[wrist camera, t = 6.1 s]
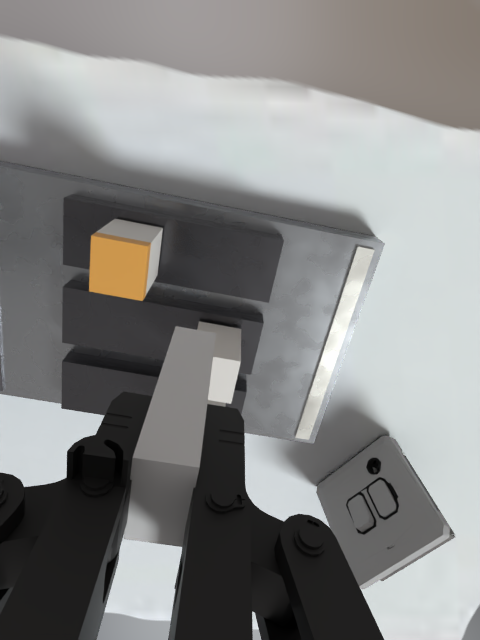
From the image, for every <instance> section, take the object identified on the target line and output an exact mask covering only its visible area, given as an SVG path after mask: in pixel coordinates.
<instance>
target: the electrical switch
mask: <svg viewBox="0 0 480 640" xmlns="http://www.w3.org/2000/svg"><path fill="white" fill-rule="evenodd" d="M401 451H402V449H401V448H400V446H399V445H398V443H397V441H396V440H395V439H393V438H391V437H389V436H386V435H385V436H381V437H380V438H379V439H377V440H376V441H375V442H373V443H372V444H371V445H370V446H368V447H367V448H366V449H364V450H363V451H362V452H360V453H359V454H358V455H356V456H355V457H354V458H352V459H351V460H350V461H348V462H347V463H346V464H344V465H343V466H342V467H340V468H339V469H338V470H337V471H335V472H334V473H333V474H331V475H330V476H329V477H327V478H326V479H325V480H323V481H322V482H321V483H319V485H318V486H317V492H316V493H317V495H318V498H319V500H320V503H321V505H322V508H323V510H324V513H325V515H326V518H327V521H328V523H329V526H330V528H331V531H332V532H333V534H334V535H335V537H336V538H337V540H338V543H339V545H340V547H341V549H342V551H343V553H344V555H345V557H346V560H347V562H348V564H349V566H350V568H351V570H352V572H353V574H354V577H355V579H356V581H357V583H358V585H359V587H360V588H361V589H365V588H367V587H369V586H371V585H372V584H374V583H376V582H377V581H379V580H381V581H384V580H385V579H387V578H389V577H390V576H392V575H393V574H395V573H397V572H398V571H400V570H402V569H403V568H405V567H407V566H408V565H410V564H412V563H413V562H415V561H417V560H418V559H420V558H422V557H423V556H425V555H426V554H428V553H430V552H431V551H433V550H435V549H436V548H438V547H440V546H441V545H443V544H445V543H446V542H448V541H450V540H451V539H453V538H454V537H455V536H454V535H455V534H454V533H453V531H452V529H451V528H450V526H449V525H448V523H447V521H446V520H445V518H444V517H443V515H442V513H441V512H440V510H439V509H438V507H437V505H436V504H435V502H434V501H433V499H432V497H431V496H430V494H429V493H428V491H427V489H426V488H425V486H424V485H423V483H422V482H421V480H420V478H419V477H418V475H417V474H416V472H415V470H414V469H413V467H412V466H411V464H410V462H409V461H408V459H407V458H406V456H404V455H403V454H402V452H401ZM452 534H453V535H452Z"/></svg>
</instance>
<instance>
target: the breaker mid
mask: <svg viewBox="0 0 480 640" xmlns="http://www.w3.org/2000/svg"><path fill="white" fill-rule="evenodd" d="M197 330H200V331H206V332H212V333H216V337H215V346H214V354H213V362H212V370H211V378H210V386H209V394H208V400H211V401H217V402H223V403H229V404H231V402H232V398H233V394H234V389H235V385H236V381H237V376H238V372H239V367H240V363H241V329H239V328H233V327H228V326H222V325H217V324H211V323H205V322H200V321H199V324H198V328H197Z"/></svg>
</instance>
